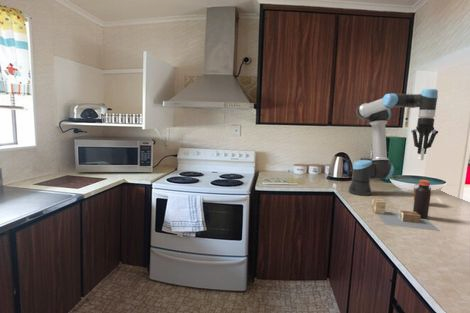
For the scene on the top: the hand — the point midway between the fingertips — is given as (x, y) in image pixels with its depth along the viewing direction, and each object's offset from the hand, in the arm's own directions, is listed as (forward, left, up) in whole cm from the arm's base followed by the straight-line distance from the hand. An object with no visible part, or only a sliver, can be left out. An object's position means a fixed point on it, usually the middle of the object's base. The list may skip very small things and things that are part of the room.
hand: (420, 159), depth 155 cm
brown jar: (-17, +9, -31) cm, 36 cm away
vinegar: (+11, -1, -30) cm, 32 cm away
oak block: (+11, -22, -30) cm, 39 cm away
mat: (+19, -11, -30) cm, 38 cm away
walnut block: (+19, -13, -28) cm, 36 cm away
